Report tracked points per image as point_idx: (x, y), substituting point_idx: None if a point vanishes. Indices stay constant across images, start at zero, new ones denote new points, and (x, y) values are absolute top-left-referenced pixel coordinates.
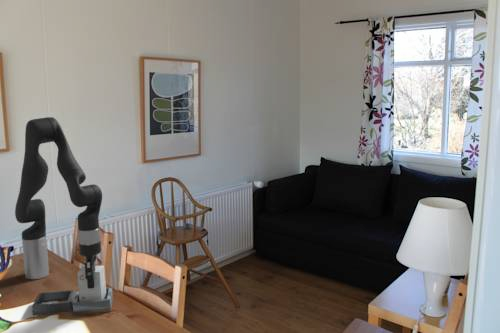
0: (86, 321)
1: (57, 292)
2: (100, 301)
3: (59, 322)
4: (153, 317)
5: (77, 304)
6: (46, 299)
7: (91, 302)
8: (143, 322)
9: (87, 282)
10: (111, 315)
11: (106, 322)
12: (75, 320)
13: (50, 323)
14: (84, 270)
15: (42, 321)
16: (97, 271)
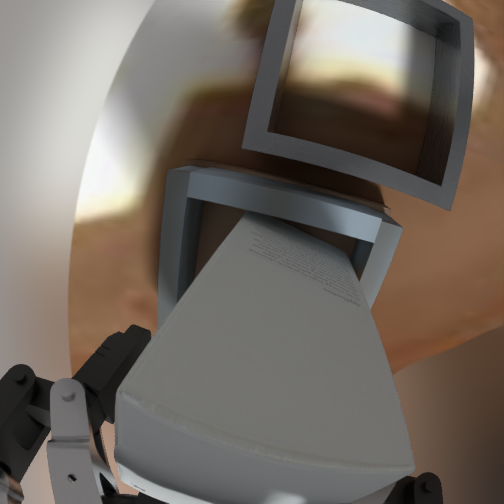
0: (119, 220)
1: (457, 100)
2: (159, 322)
3: (151, 98)
4: None
5: (167, 199)
6: (442, 51)
7: (159, 281)
8: None
9: (104, 357)
10: (143, 316)
11: (99, 287)
12: (141, 172)
13: (160, 59)
14: (182, 468)
15: (199, 22)
16: (127, 481)
